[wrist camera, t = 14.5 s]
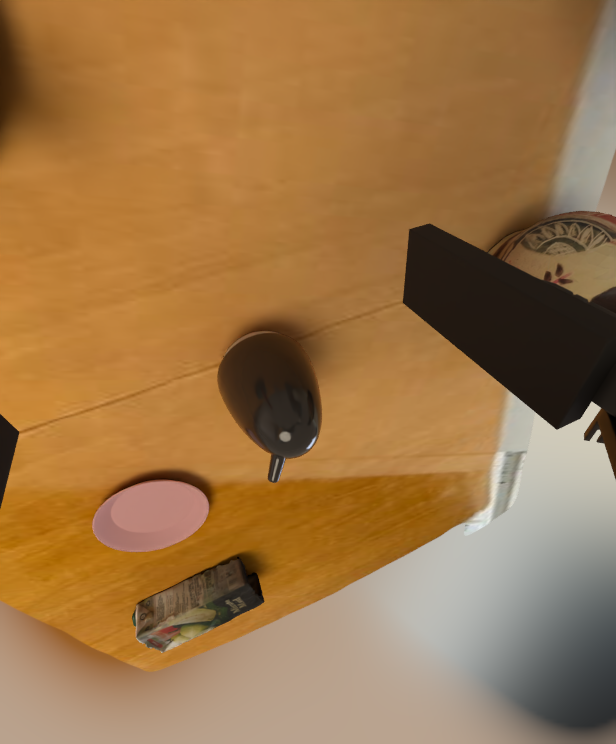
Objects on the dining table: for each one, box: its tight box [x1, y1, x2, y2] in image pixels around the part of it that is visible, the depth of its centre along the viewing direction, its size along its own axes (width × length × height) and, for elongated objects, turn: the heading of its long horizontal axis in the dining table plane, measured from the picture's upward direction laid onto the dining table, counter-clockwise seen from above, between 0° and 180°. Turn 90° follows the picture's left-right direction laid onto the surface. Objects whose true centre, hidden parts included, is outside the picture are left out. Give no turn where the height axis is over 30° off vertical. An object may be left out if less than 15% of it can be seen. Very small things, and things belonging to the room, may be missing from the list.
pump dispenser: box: [217, 331, 322, 483], centre depth 36 cm, size 10×10×15 cm
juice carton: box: [132, 557, 264, 653], centre depth 62 cm, size 20×10×6 cm, turn 105°
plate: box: [92, 479, 209, 552], centre depth 49 cm, size 14×14×2 cm
